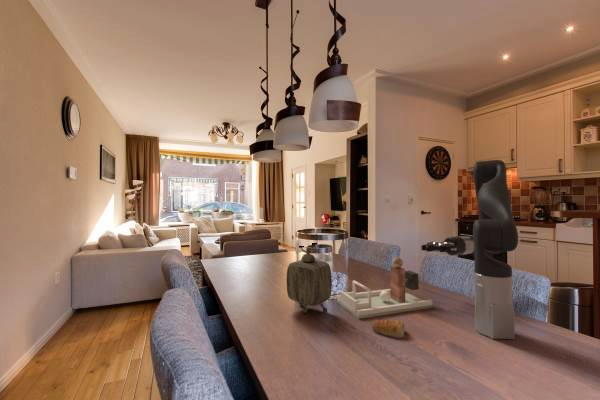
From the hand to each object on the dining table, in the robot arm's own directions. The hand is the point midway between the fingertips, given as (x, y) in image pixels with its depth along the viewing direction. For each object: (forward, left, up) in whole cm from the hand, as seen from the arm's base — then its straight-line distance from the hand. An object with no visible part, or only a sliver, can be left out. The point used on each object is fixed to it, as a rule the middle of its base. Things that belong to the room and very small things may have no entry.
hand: (424, 248), depth 114 cm
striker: (-3, +9, -19) cm, 21 cm away
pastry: (-29, +21, -20) cm, 41 cm away
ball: (-6, +17, -17) cm, 25 cm away
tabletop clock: (-13, +46, -20) cm, 52 cm away
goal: (-10, +29, -19) cm, 36 cm away
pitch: (-6, +18, -20) cm, 28 cm away
